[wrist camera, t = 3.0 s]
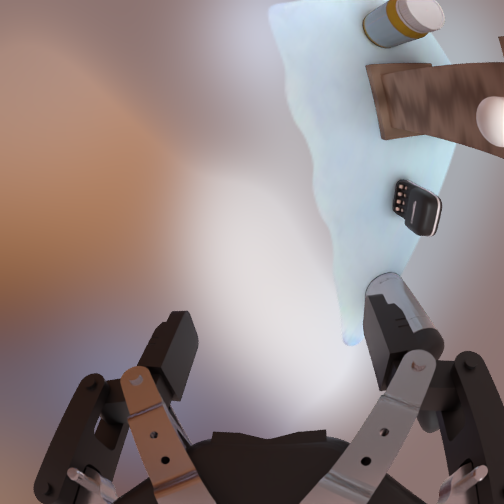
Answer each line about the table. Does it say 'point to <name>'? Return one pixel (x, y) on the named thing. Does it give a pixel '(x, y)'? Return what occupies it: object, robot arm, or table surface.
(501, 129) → the hammer
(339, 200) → the table surface
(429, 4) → the bottle
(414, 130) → the pedestal
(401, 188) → the battery charger
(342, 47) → the table surface
